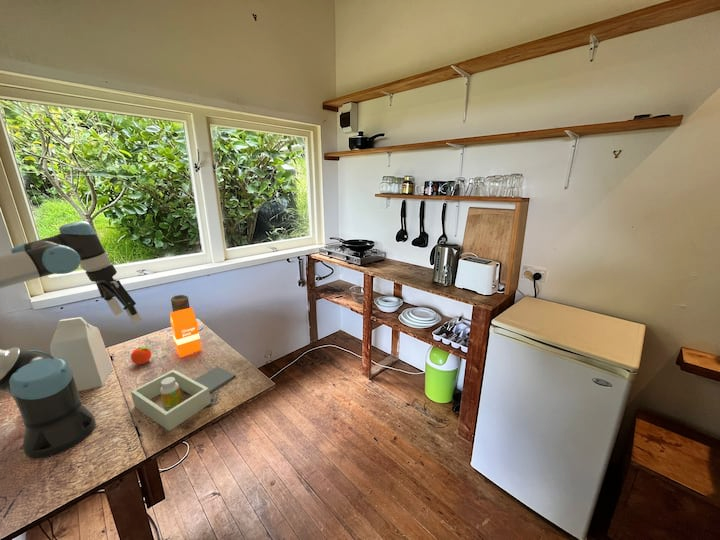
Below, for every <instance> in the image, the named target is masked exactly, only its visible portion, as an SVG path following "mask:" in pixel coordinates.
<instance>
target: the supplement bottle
mask: <svg viewBox="0 0 720 540" xmlns="http://www.w3.org/2000/svg"><path fill="white" fill-rule="evenodd" d="M161 386H162V387H161V389H160V393H161V394H160V396H161V401H162V406H163V409H164V410H166V411H169V410H171V409H172V408H174V407H175V406H177V405H179V404H180V403H182V402H183V399H182V394H181V389H180V388H179V384H178V383H177V382H176V380H175V378H174V377H168V378H165V379H163V380H162V381H161Z"/></svg>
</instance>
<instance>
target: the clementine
mask: <svg viewBox="0 0 720 540" xmlns="http://www.w3.org/2000/svg"><path fill="white" fill-rule="evenodd" d="M151 358H152V348H149V347H148V346H147V347H146V346H145V347H144V346H140V347H137V348H135V349H134V350H133V351H132V352H131V355H130V360H131V361H132V363H133V364H136V365H143V364H146V363H147V362H148V361H149V360H151Z"/></svg>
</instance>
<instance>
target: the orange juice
mask: <svg viewBox="0 0 720 540" xmlns="http://www.w3.org/2000/svg"><path fill="white" fill-rule="evenodd" d="M169 315H170V317H169V318H170V320H169V321H170V327H171V331H172V338H173V341H174V347H175V351H176V354H177V355H178V357H179V358H182V357H187V356H189V355H192V354H195V353H197V351H198V352H200V351H199V350H201V351H202V345H201V336H200V333H199V328H198V327H199V326H198V321H197V318H196V317H197V316H196V315H195V312H194V308H193V307H190V308H187V309H183V310H179V311H175V312H173V311H171V312H169ZM194 352H195V353H194Z"/></svg>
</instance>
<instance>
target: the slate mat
mask: <svg viewBox="0 0 720 540" xmlns="http://www.w3.org/2000/svg"><path fill="white" fill-rule="evenodd" d="M234 376H236V374H235V373H232V372H230V371H228V370H226V369H224V368H221V367H219V366H216V367H214V368H213V369H210V370H209V371H207V372H205V373H204V374H202V375H200V376H198V377H197V378H195V379H193V380H194V381H196V382H198V383H200V384H202V385H204V386H205V387H207V388H209V393H213V392H214V391H215V390H218V388H220V387H222V386H223V385H225V384H226V383H228V382H229V381H231V380H233V379H234V378H235V377H234ZM233 377H234V378H233ZM232 378H233V379H232ZM230 379H231V380H230Z"/></svg>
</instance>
